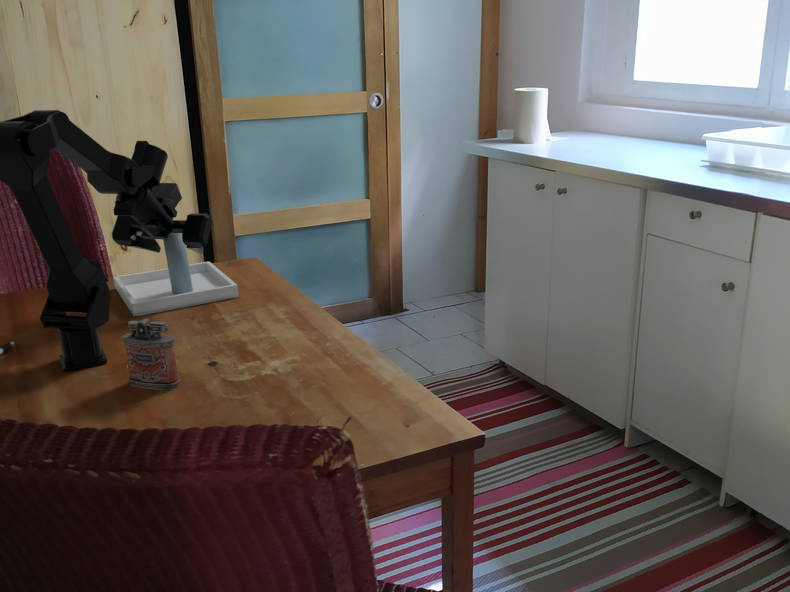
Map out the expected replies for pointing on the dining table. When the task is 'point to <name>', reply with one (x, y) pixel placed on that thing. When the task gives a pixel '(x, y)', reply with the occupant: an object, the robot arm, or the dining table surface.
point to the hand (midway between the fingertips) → (180, 251)
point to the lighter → (151, 356)
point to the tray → (156, 293)
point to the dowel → (177, 264)
